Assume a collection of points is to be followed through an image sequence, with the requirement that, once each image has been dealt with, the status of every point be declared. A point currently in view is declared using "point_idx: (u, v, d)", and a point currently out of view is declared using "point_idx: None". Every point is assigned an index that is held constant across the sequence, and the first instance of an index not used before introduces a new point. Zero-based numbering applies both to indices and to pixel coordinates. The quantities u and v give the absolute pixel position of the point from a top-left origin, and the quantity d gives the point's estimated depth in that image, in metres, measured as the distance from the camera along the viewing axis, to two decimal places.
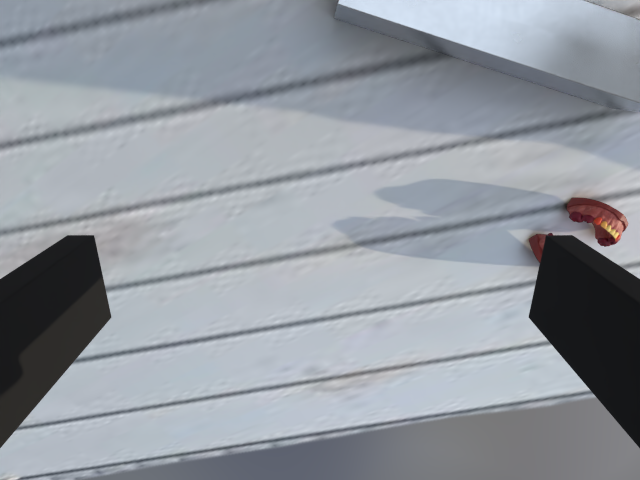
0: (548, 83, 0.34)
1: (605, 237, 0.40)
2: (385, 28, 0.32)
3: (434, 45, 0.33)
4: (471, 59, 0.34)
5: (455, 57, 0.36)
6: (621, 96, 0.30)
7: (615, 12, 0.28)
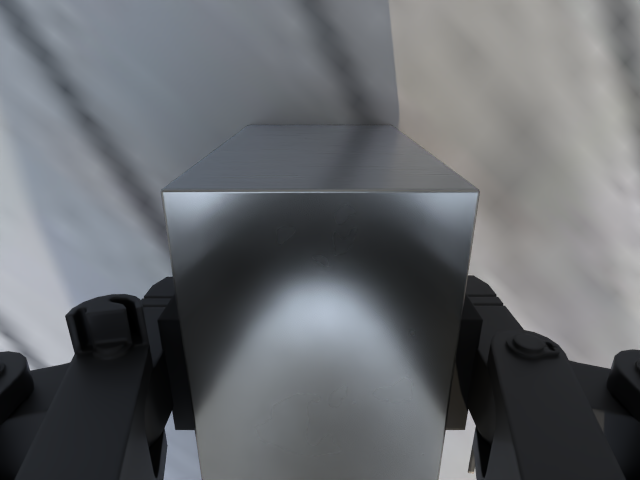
0: None
1: None
2: None
3: None
4: None
5: None
6: None
7: None
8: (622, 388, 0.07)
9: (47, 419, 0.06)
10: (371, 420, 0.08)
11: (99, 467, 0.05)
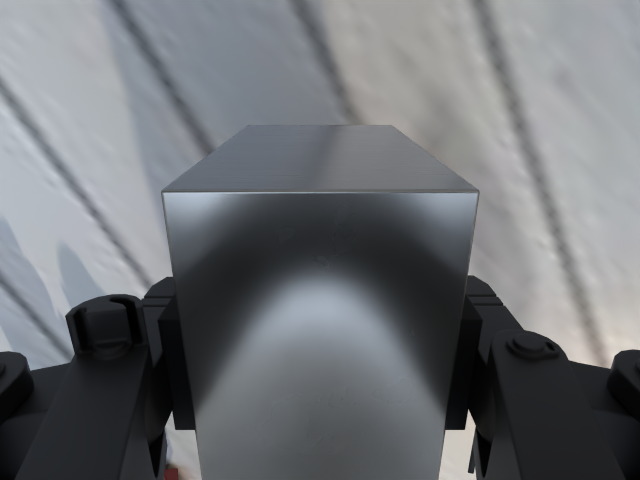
0: None
1: None
2: None
3: None
4: None
5: None
6: None
7: None
8: (622, 388, 0.07)
9: (48, 419, 0.06)
10: (371, 420, 0.08)
11: (99, 467, 0.05)
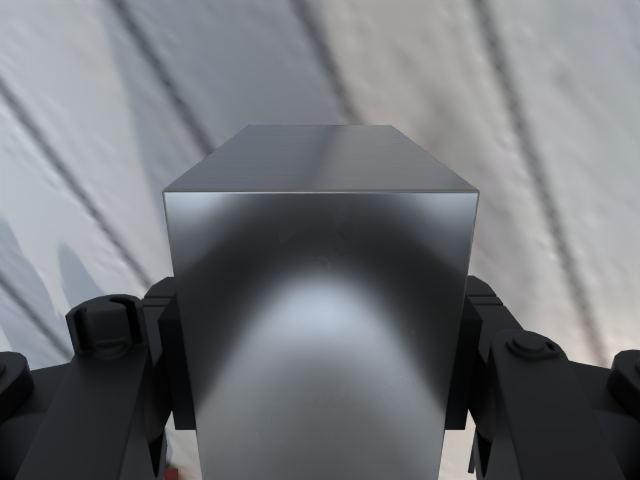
0: None
1: None
2: None
3: None
4: None
5: None
6: None
7: None
8: (622, 388, 0.07)
9: (47, 418, 0.06)
10: (371, 419, 0.08)
11: (100, 467, 0.05)
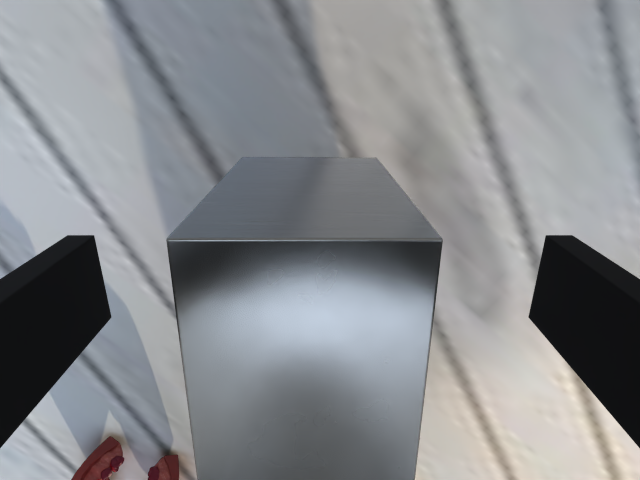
0: None
1: None
2: None
3: None
4: None
5: None
6: None
7: None
8: None
9: None
10: (352, 437, 0.09)
11: None
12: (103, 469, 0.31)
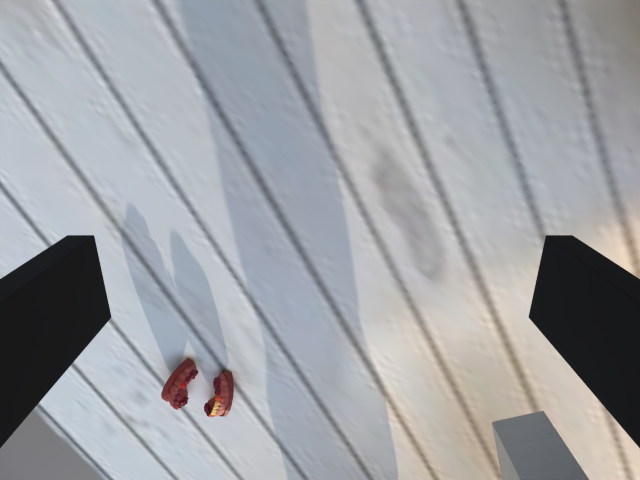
0: None
1: (210, 407, 0.51)
2: None
3: None
4: None
5: None
6: None
7: None
8: None
9: None
10: None
11: None
12: (186, 376, 0.48)
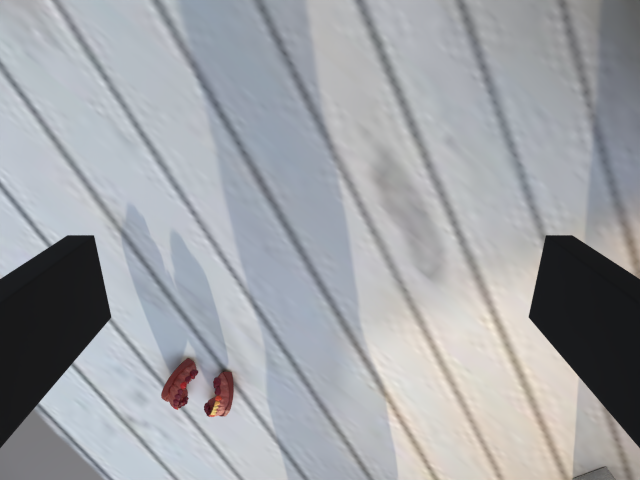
0: None
1: (210, 407, 0.51)
2: None
3: None
4: None
5: None
6: None
7: None
8: None
9: None
10: None
11: None
12: (186, 376, 0.48)
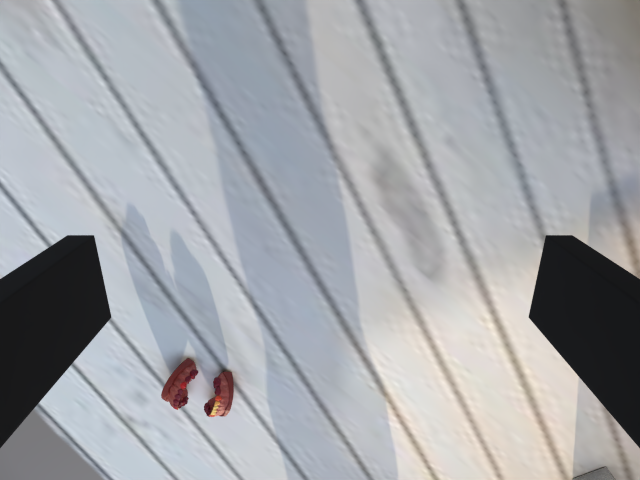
0: None
1: (210, 407, 0.51)
2: None
3: None
4: None
5: None
6: None
7: None
8: None
9: None
10: None
11: None
12: (186, 376, 0.48)
